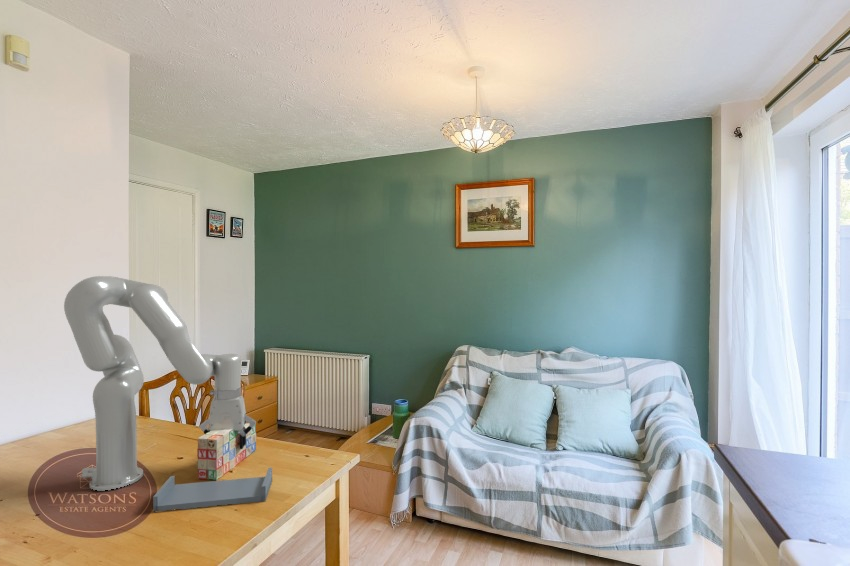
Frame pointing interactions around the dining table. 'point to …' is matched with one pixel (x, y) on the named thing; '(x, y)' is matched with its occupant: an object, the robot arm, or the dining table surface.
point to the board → (211, 493)
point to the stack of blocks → (222, 451)
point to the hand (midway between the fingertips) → (228, 448)
